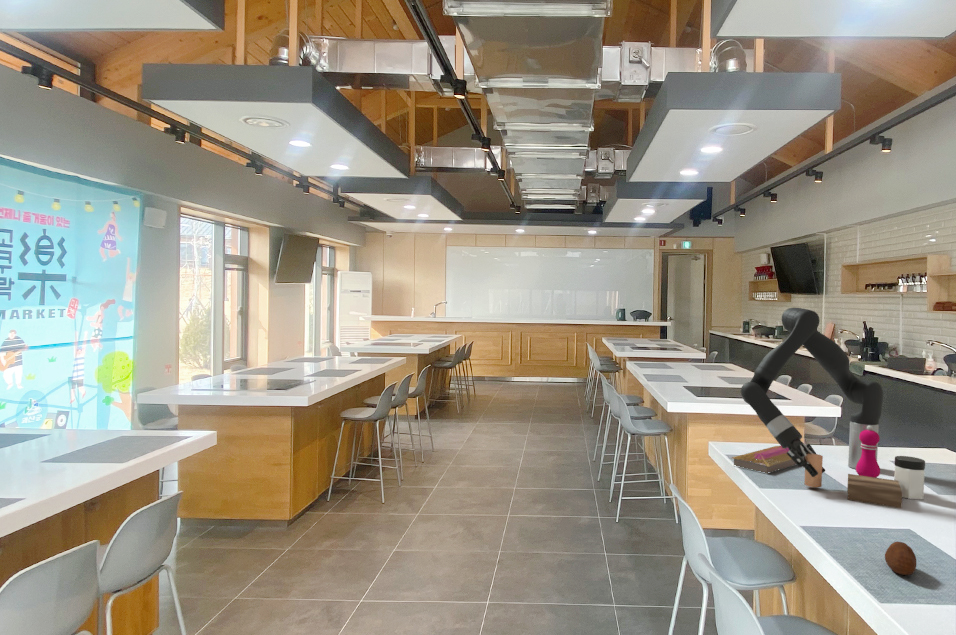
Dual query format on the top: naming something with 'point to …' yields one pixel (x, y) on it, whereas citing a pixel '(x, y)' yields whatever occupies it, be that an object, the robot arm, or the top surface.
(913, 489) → the jar
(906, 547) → the potato
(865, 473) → the pepper mill
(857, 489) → the base block
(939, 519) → the top surface
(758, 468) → the slab with pink ridge
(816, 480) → the post
